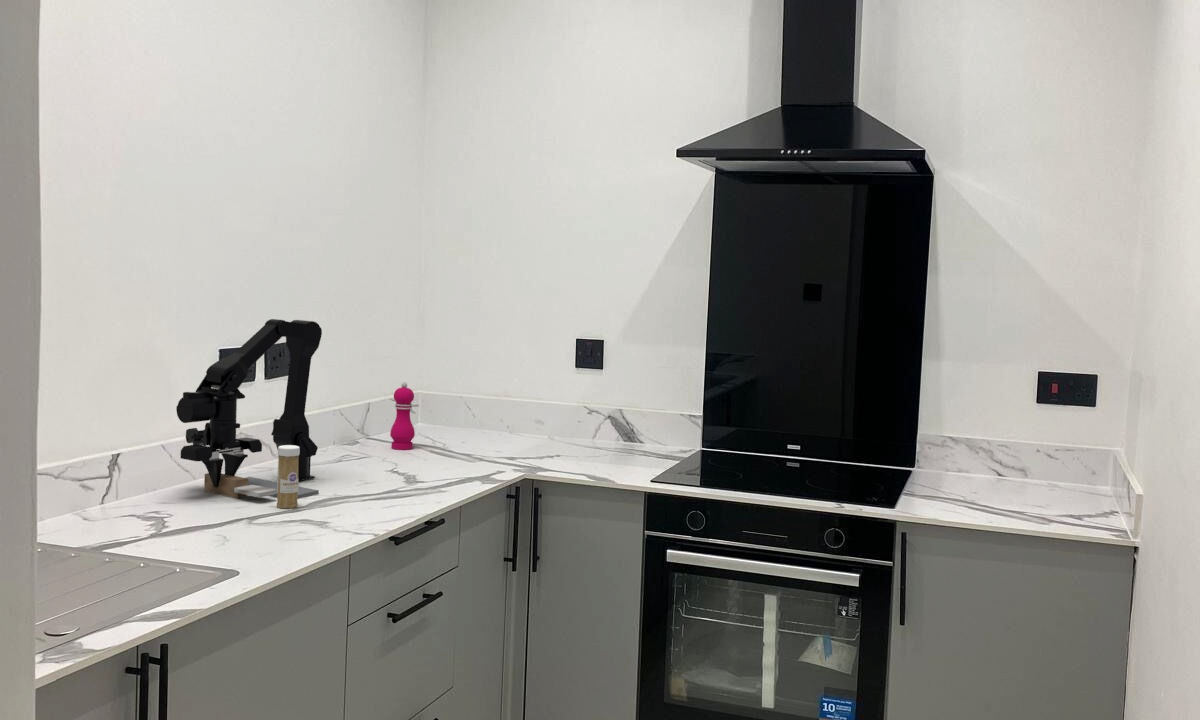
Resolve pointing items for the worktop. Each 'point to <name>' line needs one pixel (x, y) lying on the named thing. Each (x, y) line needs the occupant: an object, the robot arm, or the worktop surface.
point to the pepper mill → (403, 419)
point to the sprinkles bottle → (287, 476)
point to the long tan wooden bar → (236, 487)
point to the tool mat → (273, 485)
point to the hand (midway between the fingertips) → (221, 485)
